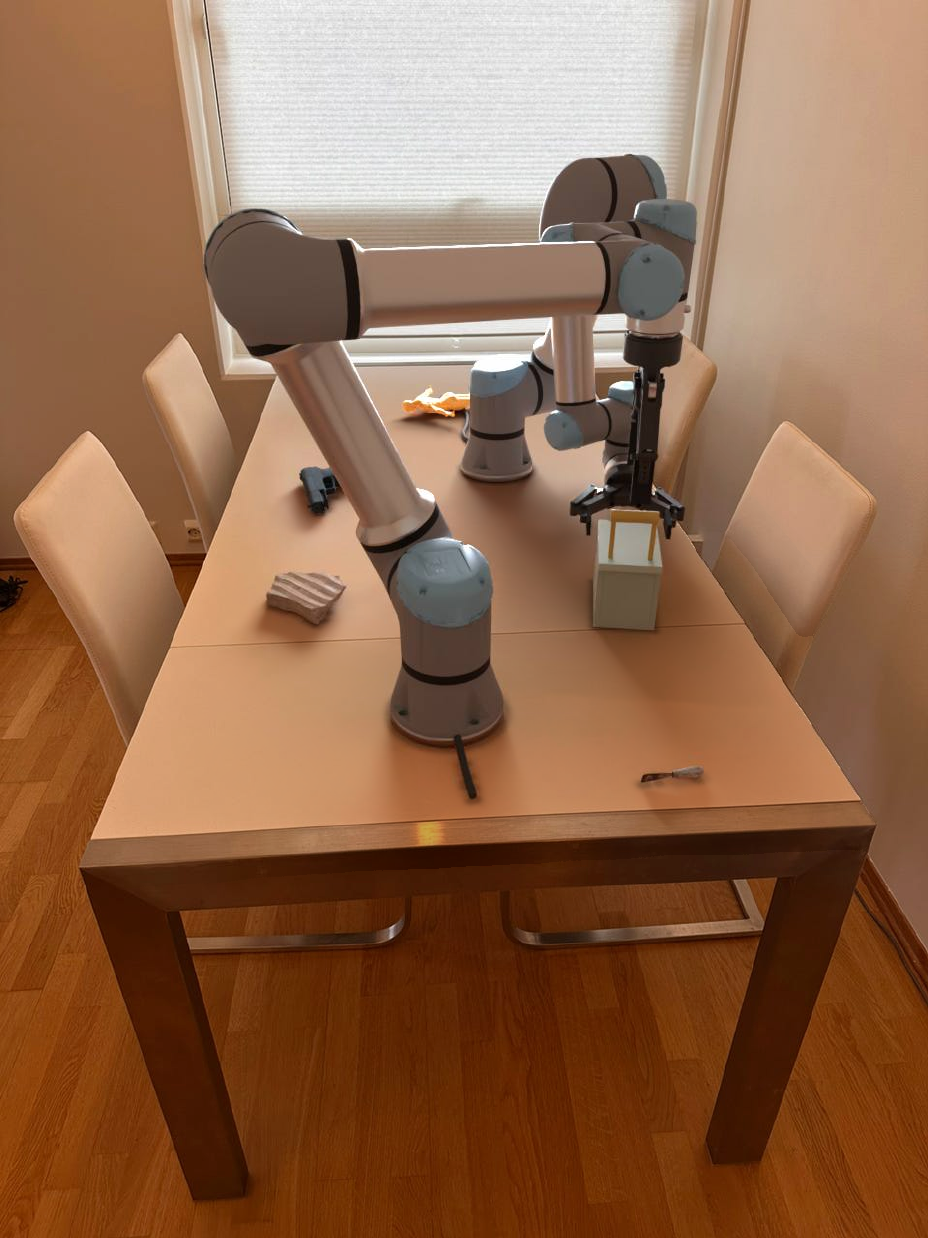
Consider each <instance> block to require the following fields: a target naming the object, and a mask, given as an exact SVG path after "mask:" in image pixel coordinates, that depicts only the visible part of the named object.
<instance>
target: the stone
mask: <svg viewBox="0 0 928 1238" xmlns="http://www.w3.org/2000/svg"><path fill="white" fill-rule="evenodd" d="M346 589H347V585H346V583H345V582H343V580H341V579H340V575H332V574H329V573H326V572H320V571H318V572H315V571H314V572H308V573H306V572H300V571H289V572H287V573H281V572H279V573H277V574H275V576H274V579H273V581H272V584H271V587H270V590H268V591H267V592H266V594H265V597H266V600H265V604H266V605H267V606H268V605H269V606H271V607H275V608H278V609H281V610H282V611H289V612H292V613H296V614H297V615H299V616H301V617H302V618H304V619H305V620H307V621H309V622H311V623H312V624H315V625H319V624H320V622H321V621H323V620H324V619H325V618H326V615H327V612H328V611H329V609H330V607H332V606H333V605H334V603H335V602H336V601H338V600H339V599H340V598H341V596H342V595H343V593H344V591H345V590H346Z"/></svg>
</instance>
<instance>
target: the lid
mask: <svg viewBox="0 0 928 1238" xmlns="http://www.w3.org/2000/svg"><path fill="white" fill-rule="evenodd" d="M659 522H660V517H659V512H658V511H646V510H643V511H641V510H638V509H636V510H635V509H634V510H633V509H614V508H611V509H610V516H609V519H602V518H599V519H598V521H597V530H598V570H599V571H615V572H633V573H652V574H661V575H662V574H663V568H664V565H663V560H662V559H663V558H662V552H661V544H660V538H659V537H660V536H659V530H658V525H659Z"/></svg>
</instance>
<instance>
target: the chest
mask: <svg viewBox="0 0 928 1238" xmlns="http://www.w3.org/2000/svg"><path fill="white" fill-rule="evenodd" d="M596 530H597V531H596V544H595V553H594V554H595V556H594V567H593V579H592V612H593V613H592V627H593V628H606V629H607V628H608V629H621V630H623V629H624V630H637V631H638V630H640V631H655V625H656V617H657V610H658V601H659V594H660V585H661V580H662V579H661V577H662V574H652V573H633V572H615V571H599V570H598V529H596Z"/></svg>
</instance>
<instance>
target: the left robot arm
mask: <svg viewBox="0 0 928 1238" xmlns="http://www.w3.org/2000/svg"><path fill="white" fill-rule="evenodd" d="M697 218H698V211H697V207H696V206H695V205H694V204H693V203H692V202H690V201H686V200H682V199H669V198H667V199H652V200H645V201H641V202H640V203H638V205H637V207H636V210H635V215H634V217H633V219H634V220H628V221H623V222H603V223H576V224H573V222H570V223H569V224H565V225H556V226H551V227H549V228H548V229H546V230H545V232H544V233H543V235H542V238H541V240H540V241H539V242H535V243H510V244H509V243H508V244H507V243H506V244H505V243H504V244H480V245H479V244H478V245H452V246H451V245H450V246H418V247H417V246H416V247H392V248H391V247H390V248H389V247H388V248H387V247H386V248H362V247H361V246H360V245H359V244H358V243H356V241H354V239H352V238H335V239H334V238H322V237H315V236H309V235H305V234H302V232H301V231H300V229H298V227H296V225H295V224H294V222H292V221H291V220H290V219H289V218H287V216H284V215H282V214H280V213H279V212H277V211H274V210H270V209H267V208H261V207H260V208H257V207H256V208H255V207H254V208H252V207H251V208H243V209H239V210H236V211H234V212H232V213H230V214H228V215H227V216H225V217H224V218H223V219H222V220H220V222H218V223H217V224H216V225H215V227H214V228H213V230H212V231H211V233H210V235H209V237H208V239H207V241H206V244H205V247H204V254H203V268H204V274H205V279H206V280H207V283H208V284H209V287H210V289H211V294H212V297H213V300H214V303H215V305H216V307H217V309H218V311H219V313H220V314H221V316H222V317H223V318H224V320H225V321H226V322H227V324H229V325H230V326H231V327H232V328H233V329H234V330H235V331H236V332H237V335H238V336H239V338H240V340H241V341H242V343H243V345H244V346H245V348H246V350H247V352H248V353H249V355H250V356H251V358H253V359H256V360H258V361H262V362H265V363H269V364H270V366H271V367H272V369H273V370H274V372H275V374H276V376H277V378H278V379H279V381H280V383H281V385H282V386H283V388H284V390H285V391H286V394H287V395H288V397H289V399H290V400H291V403H292V404H293V405H294V407H295V409H296V410H297V412H298V414H299V416H300V418H301V419H302V422H303V423H304V425H305V427H306V429H307V430H308V432H309V433H310V436H311V437H312V439H313V441H314V442H315V444H316V446H317V447H318V449H319V452H321V455H322V456H323V458H324V460H325V461H326V463H327V465H328V468H329V467H330V468H331V470H332V472H333V474H334V475H335V477H336V479H337V481H338V482H339V484H340V486H341V487H340V488H341V490H342V491H343V494H344V495H345V496H346V498H347V499H348V501H349V503H350V505H351V507H352V508H353V510H354V512H355V514H356V516H357V518H358V519H359V520H358V522H357V525H356V528H355V536H356V538H357V540H358V542H359V544H360V545H361V547H362V549H363V551H364V552H365V554H366V556H367V557H368V559H369V561H370V562H371V564H372V566H373V568H374V569H375V572H376V573H377V575H378V577H379V579H380V580H381V582H382V584H383V586H384V589H385V591H386V593H387V595H388V598H389V599H390V602H391V605H392V606H393V609H394V611H395V613H396V615H397V619H398V623H399V633H400V634H399V635H400V652H401V653H400V655H401V667H400V669H399V672H398V675H397V678H396V681H395V684H394V687H393V690H392V693H391V696H390V704H389V705H390V718H391V721H392V724H393V725H394V727H395V728H396V729H397V731H398V732H399V733H400V734H402V735H403V736H404V737H406V738H407V739H409V740H411V741H413V742H415V743H417V744H420V745H421V744H422V745H425V746H430V747H437V748H454V747H455V749H456V754H457V759H458V763H459V767H460V770H461V774H462V778H463V782H464V785H465V788H466V792H467V795H468V798H469V800H475V799H477V797H478V793H477V790H476V787H475V784H474V781H473V777H472V775H471V770H470V767H469V763H468V759H467V754H466V751H465V747H464V746H467V745H471V744H473V743H476V742H480V741H481V740H483V739H485V738H486V737H488V736H489V735H491V734H492V733H493V732H494V731H495V730H496V729H498V727H499V726H500V724H501V722H502V720H503V717H504V697H503V693H502V690H501V687H500V685H499V682H498V679H497V677H496V674H495V672H494V668H493V666H492V664H491V654H492V653H491V651H492V649H491V648H492V647H491V645H492V603H493V602H492V601H493V600H492V599H493V595H494V585H493V578H492V571H491V567H490V564H489V562H488V561H489V560H487V558H486V557H485V556H484V554H483V553H482V552H481V551H480V550H478V549H477V548H476V547H474V546H473V545H470V544H466V545H465V544H464V543H463V541H460V540H457V539H456V538H455V536H454V534H453V533H452V530H451V529H450V527H449V525H448V523H447V521H446V519H445V517H444V515H443V512H442V511H441V509H440V507H439V505H438V503H437V501H436V499H435V497H434V495H433V494H432V493H431V492H429V491H427V490H424V489H420V488H417V487H416V484H415V483H414V481H413V479H412V477H411V475H410V473H409V471H408V469H407V467H406V465H405V462H404V461H403V459H402V457H401V456H400V455H401V454H400V453H399V451H398V449H397V447H396V445H395V443H394V441H393V440H392V438H391V436H390V434H389V432H388V430H387V428H386V426H385V424H384V422H383V420H382V418H381V416H380V414H379V412H378V410H377V408H376V406H375V404H374V402H373V401H372V398H371V397H370V395H369V393H368V391H367V389H366V387H365V385H364V382H363V381H362V379H361V377H360V374H359V372H358V371H357V369H356V367H355V366H354V363H353V362H352V360H351V357H350V356H349V354H348V352H347V350H346V348H345V346H344V343H343V342H342V341H356V340H360V339H361V338H362V337H363V336H364V335H365V333H366V332H367V331H368V330H369V329H380V328H381V329H382V328H395V327H396V328H397V327H399V328H401V327H412V326H413V327H415V326H416V327H417V326H430V325H431V326H432V325H446V324H447V325H449V324H465V323H481V322H482V323H483V322H496V321H513V320H526V319H527V320H528V319H545V318H546V319H547V318H550V317H564V316H580V315H598V316H605V315H621V314H623V315H625V319H624V322H625V323H624V327H625V328H626V330H627V331H626V332H625V333H624V337H623V347H622V359H623V361H624V362H625V363H627V364H628V365H631V366H634V367H636V371H635V372H633V377H632V380H633V381H632V382H633V385H634V386H633V402H632V405H631V409H632V414H631V417H632V420H635V421H631V426H630V436H629V447H628V457H627V465H634V467H633V477H632V487H631V496H630V503H635V504H650V503H651V494H652V491H653V486H654V477H655V476H654V475H655V469H656V468H655V466H656V462H657V460H658V459H659V454H658V452H659V451H658V450H659V448H658V447H659V436H660V423H661V422H660V420H661V410H662V407H663V393H664V391H665V387H666V378H665V377H664V376H665V374H664V372H661V370H662V369H665V368H670V367H671V368H672V367H674V366H676V365H678V364H679V362H680V361H681V357H682V349H683V348H682V347H683V340H684V335H682V333H681V332H682V331H683V330H684V328H685V321H686V316H685V314H690V313H691V311H692V306H691V305H689V304H687V303H688V298H689V296H688V295H689V290H690V284H691V283H690V282H691V274H692V267H693V261H694V260H693V259H694V253H695V245H697V225H698V221H697V220H698V219H697Z"/></svg>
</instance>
